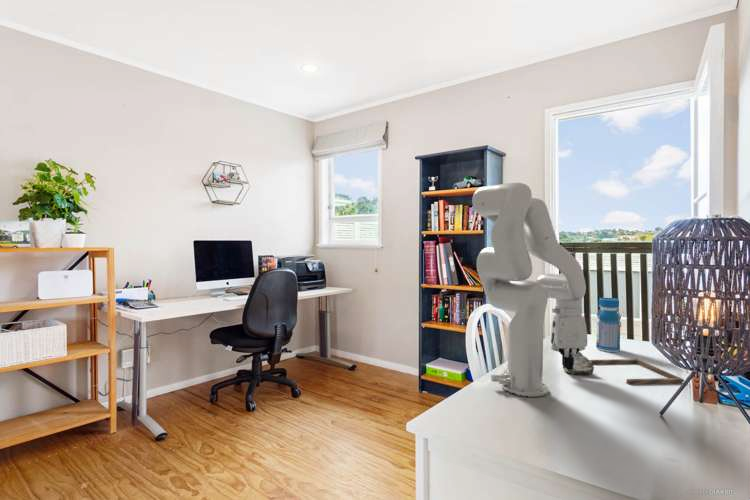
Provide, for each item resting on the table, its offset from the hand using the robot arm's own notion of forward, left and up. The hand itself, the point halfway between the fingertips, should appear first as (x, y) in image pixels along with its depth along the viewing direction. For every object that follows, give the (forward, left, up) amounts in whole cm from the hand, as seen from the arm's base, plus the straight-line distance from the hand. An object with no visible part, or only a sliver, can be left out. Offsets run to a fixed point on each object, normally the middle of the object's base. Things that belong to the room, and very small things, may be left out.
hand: (567, 368), depth 131 cm
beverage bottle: (+30, +26, -2) cm, 40 cm away
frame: (+21, 0, -2) cm, 21 cm away
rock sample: (+4, +1, -2) cm, 5 cm away
